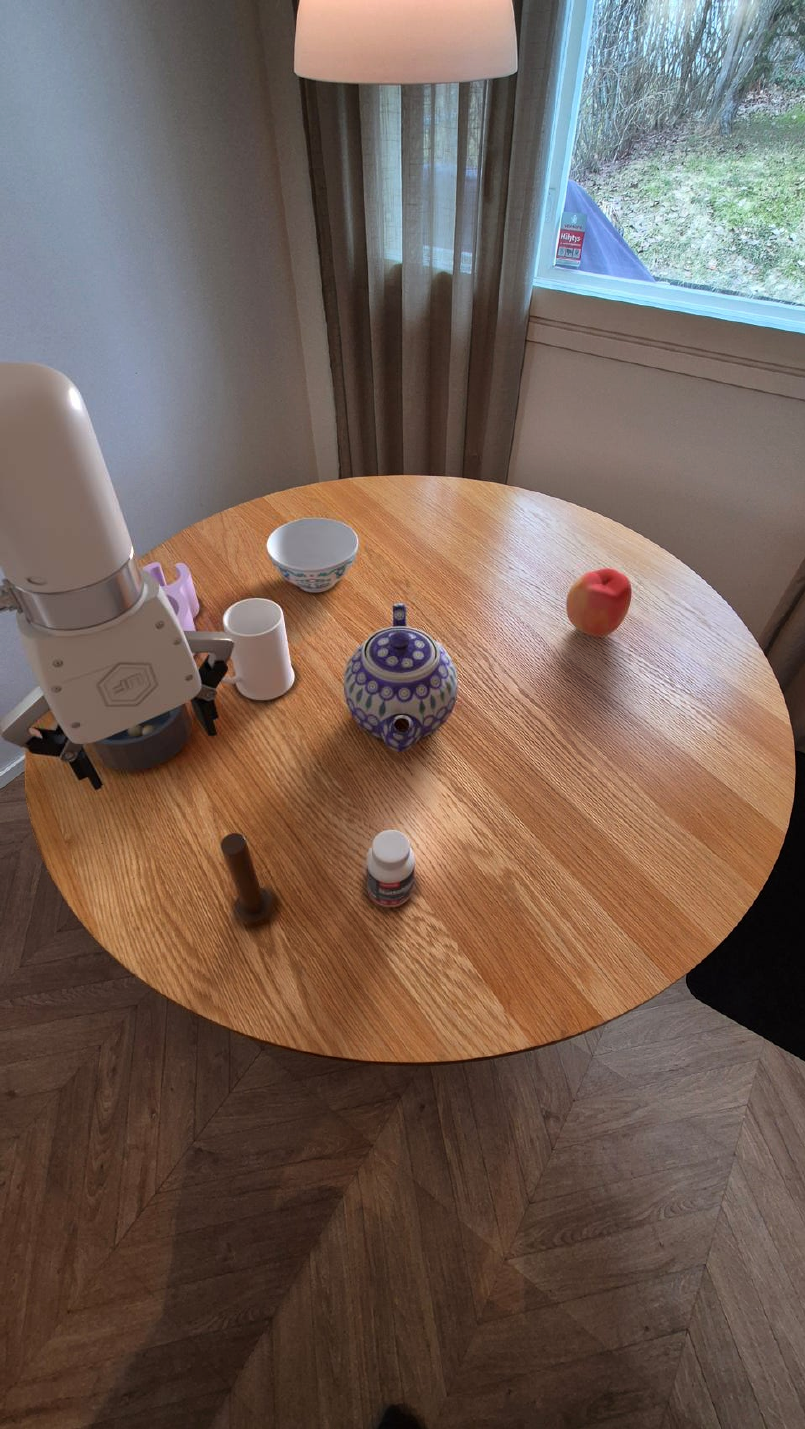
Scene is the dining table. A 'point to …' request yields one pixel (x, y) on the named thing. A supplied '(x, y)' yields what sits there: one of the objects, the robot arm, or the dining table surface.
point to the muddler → (246, 882)
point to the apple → (599, 602)
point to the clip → (178, 593)
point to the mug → (258, 649)
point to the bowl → (146, 742)
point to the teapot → (400, 683)
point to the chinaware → (313, 552)
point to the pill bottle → (390, 869)
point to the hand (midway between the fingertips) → (152, 750)
